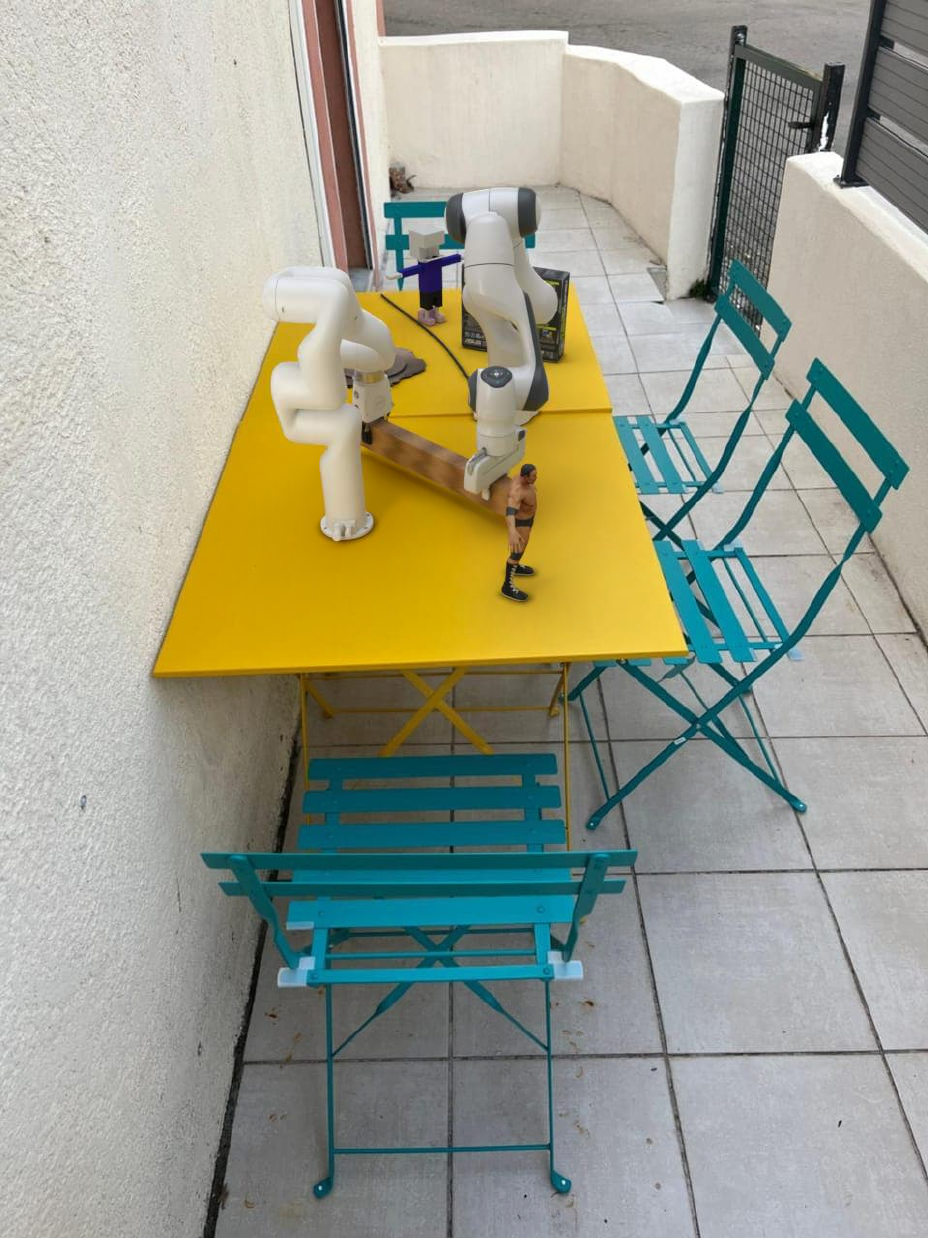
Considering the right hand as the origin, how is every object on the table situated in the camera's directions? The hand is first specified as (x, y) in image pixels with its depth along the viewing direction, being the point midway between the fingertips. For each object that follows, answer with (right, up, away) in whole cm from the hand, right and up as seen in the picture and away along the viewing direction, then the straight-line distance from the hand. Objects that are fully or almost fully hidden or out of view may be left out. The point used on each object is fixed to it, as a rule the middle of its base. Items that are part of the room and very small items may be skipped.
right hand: (494, 492), depth 209 cm
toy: (-19, +74, +99) cm, 125 cm away
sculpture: (-37, +49, +70) cm, 93 cm away
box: (+9, +57, +79) cm, 98 cm away
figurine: (+5, -23, -15) cm, 28 cm away
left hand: (-31, +17, +22) cm, 41 cm away
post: (-15, +6, +13) cm, 21 cm away
